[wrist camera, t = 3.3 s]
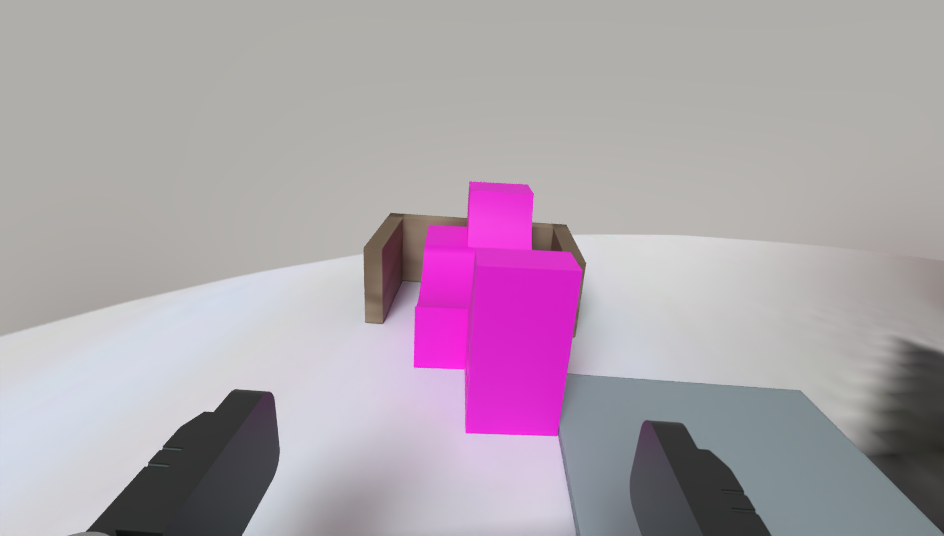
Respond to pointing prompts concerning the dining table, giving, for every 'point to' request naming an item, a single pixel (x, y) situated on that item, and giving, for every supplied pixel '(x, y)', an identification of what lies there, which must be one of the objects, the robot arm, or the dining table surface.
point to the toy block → (498, 313)
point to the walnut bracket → (402, 256)
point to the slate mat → (728, 457)
